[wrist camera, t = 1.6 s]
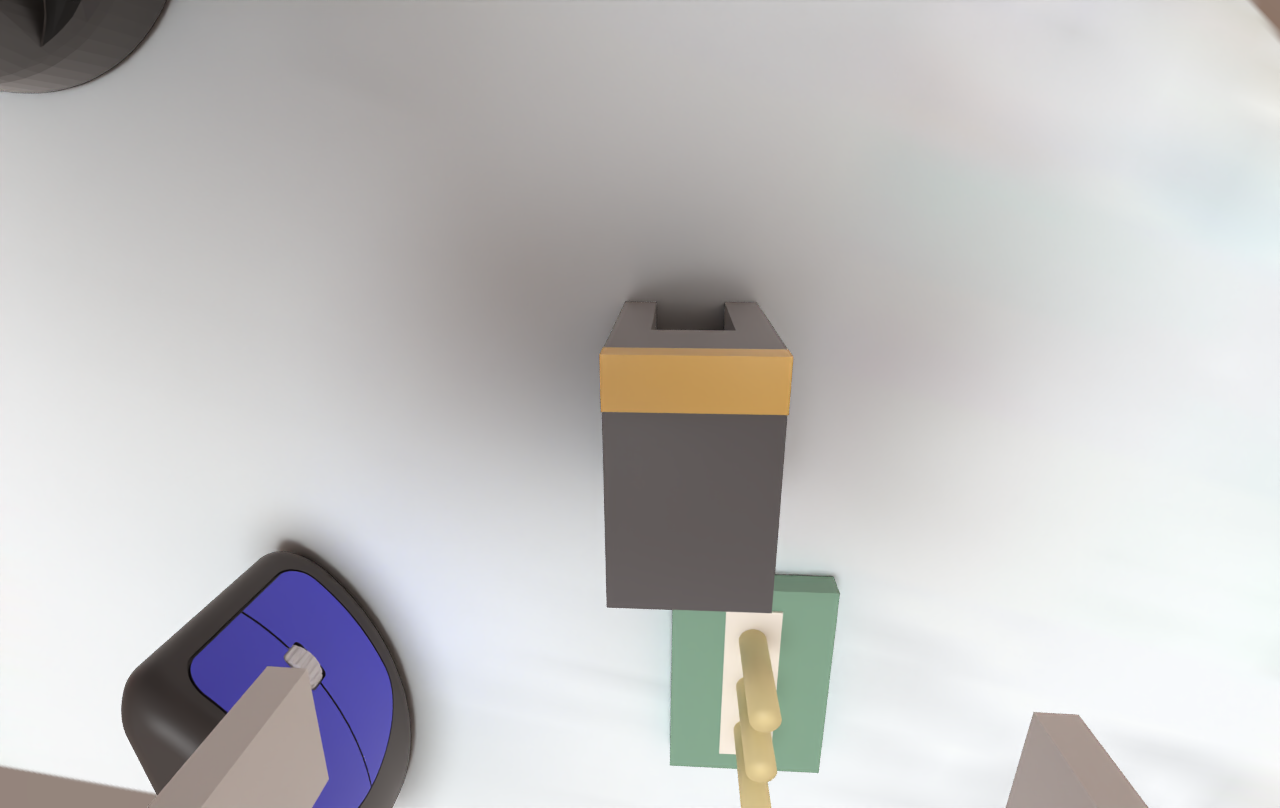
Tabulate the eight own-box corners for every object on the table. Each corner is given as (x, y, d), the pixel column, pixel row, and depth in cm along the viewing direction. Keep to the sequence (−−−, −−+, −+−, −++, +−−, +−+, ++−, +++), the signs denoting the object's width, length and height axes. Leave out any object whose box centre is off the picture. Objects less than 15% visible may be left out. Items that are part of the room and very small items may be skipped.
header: (673, 571, 28) (671, 661, 23) (833, 576, 28) (869, 669, 22) (670, 744, 31) (668, 857, 26) (813, 751, 31) (840, 868, 25)
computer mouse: (447, 797, 33) (363, 1019, 25) (366, 801, 34) (254, 1020, 25) (362, 530, 28) (217, 688, 19) (268, 540, 29) (84, 698, 20)
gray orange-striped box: (625, 301, 24) (599, 354, 17) (757, 302, 24) (793, 356, 16) (627, 488, 27) (605, 609, 19) (746, 491, 26) (772, 615, 19)
